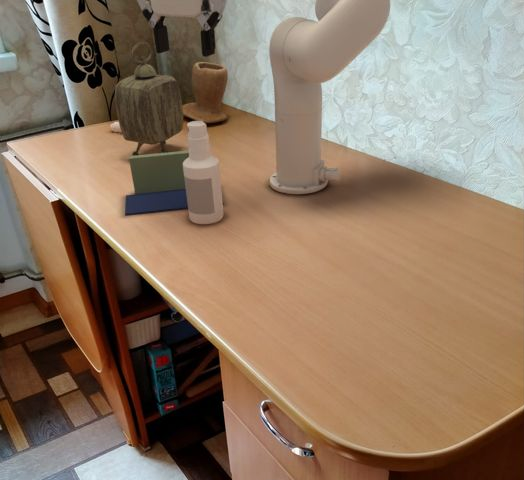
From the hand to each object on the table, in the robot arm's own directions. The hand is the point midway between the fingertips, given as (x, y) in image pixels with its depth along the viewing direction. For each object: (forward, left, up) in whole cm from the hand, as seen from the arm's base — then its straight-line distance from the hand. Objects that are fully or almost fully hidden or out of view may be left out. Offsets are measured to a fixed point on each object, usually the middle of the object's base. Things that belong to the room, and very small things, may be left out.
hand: (185, 53), depth 102 cm
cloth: (+6, 0, -28) cm, 29 cm away
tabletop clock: (+23, -27, -28) cm, 45 cm away
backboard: (+9, -5, -28) cm, 30 cm away
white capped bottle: (-4, +6, -28) cm, 29 cm away
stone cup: (+22, -57, -28) cm, 67 cm away
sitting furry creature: (+39, -43, -28) cm, 65 cm away
